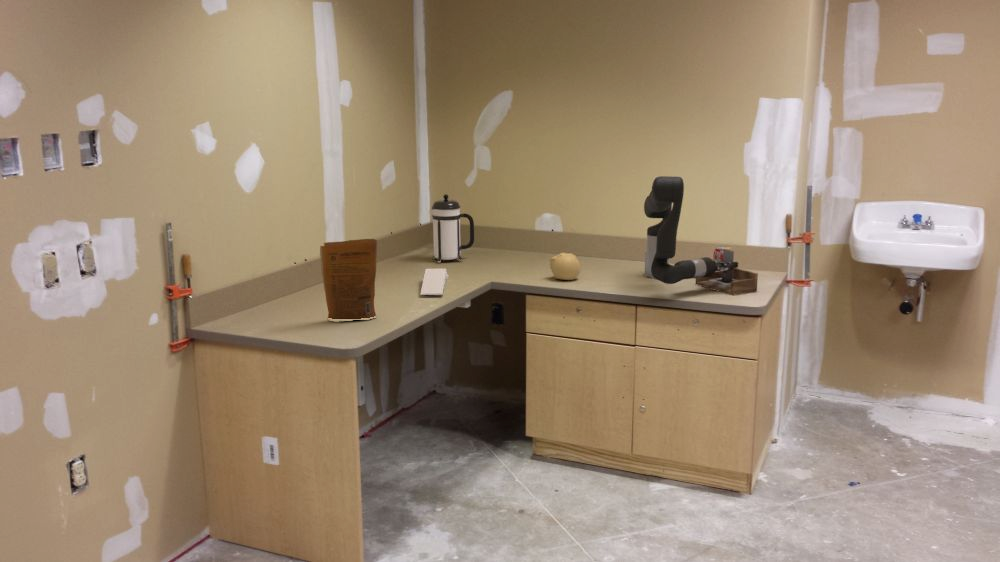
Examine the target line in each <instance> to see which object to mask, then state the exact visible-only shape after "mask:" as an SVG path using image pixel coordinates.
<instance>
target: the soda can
mask: <svg viewBox="0 0 1000 562" xmlns="http://www.w3.org/2000/svg"><path fill="white" fill-rule="evenodd" d="M727 247H728V246H716V247H715V249H714V251H713V257H712V258H713V259H712V260H715V259H716V260H721V261H722V260H723V251H726V248H727Z"/></svg>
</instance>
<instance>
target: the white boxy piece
mask: <svg viewBox="0 0 1000 562" xmlns="http://www.w3.org/2000/svg"><path fill="white" fill-rule="evenodd" d="M422 278H423V281H422V284H421V290H420V293H419V294H420V295H444V292H443V289H444V290H445V286H446V284H445V281H446V280H447V281H448V280H449V274H448V272H447V268H425V272H424V275H422ZM444 285H445V286H444Z"/></svg>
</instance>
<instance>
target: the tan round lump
mask: <svg viewBox="0 0 1000 562" xmlns="http://www.w3.org/2000/svg"><path fill="white" fill-rule="evenodd" d="M549 268H550V269H551V273H552V275H553V276H554V278H555V279H557V280H563V281H564V280H567V281H573V280H576V279H577V278H578V277H579V276H580V273H581V264H580V261H579V259H578V258H577V255H575V254H574V253H572V252H571V253H569V252H568V253H567V252H560V253H559V254H557V255H555V256H552V257H550V259H549Z"/></svg>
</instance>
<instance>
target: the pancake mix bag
mask: <svg viewBox="0 0 1000 562" xmlns="http://www.w3.org/2000/svg"><path fill="white" fill-rule="evenodd" d="M319 256H320V267H321V276H322V282H323V289H324V293H325V295H324V296H325V302H326V308H327V311H328V312H327V313H328V315H327V319H328V318H332V319H361V318H370V317H374V316H376V317H377V315H376V310H375V296H376V295H375V294H376V292H375V291H376V289H375V288H376V287H375V285H376V283H375V282H376V277H377V258H378V239H375V238H361V239H353V240H352V239H348V240H345V241H330V242H329V241H327V242H323V245H320V247H319Z"/></svg>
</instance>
